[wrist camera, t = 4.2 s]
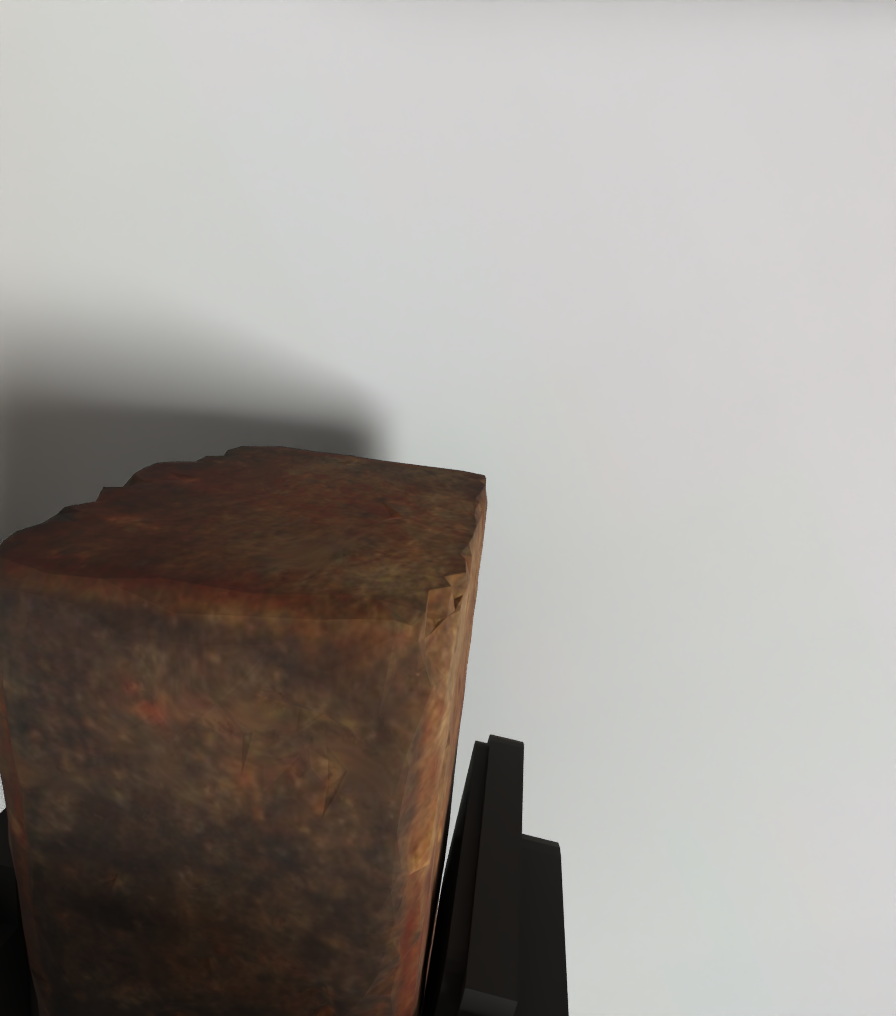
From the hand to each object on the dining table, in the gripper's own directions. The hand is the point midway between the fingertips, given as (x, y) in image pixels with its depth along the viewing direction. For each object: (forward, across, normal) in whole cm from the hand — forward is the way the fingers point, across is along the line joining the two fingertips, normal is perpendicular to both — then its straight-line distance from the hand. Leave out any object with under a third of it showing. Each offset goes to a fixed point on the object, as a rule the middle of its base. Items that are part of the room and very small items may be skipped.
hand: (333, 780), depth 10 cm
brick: (+1, 0, 0) cm, 1 cm away
